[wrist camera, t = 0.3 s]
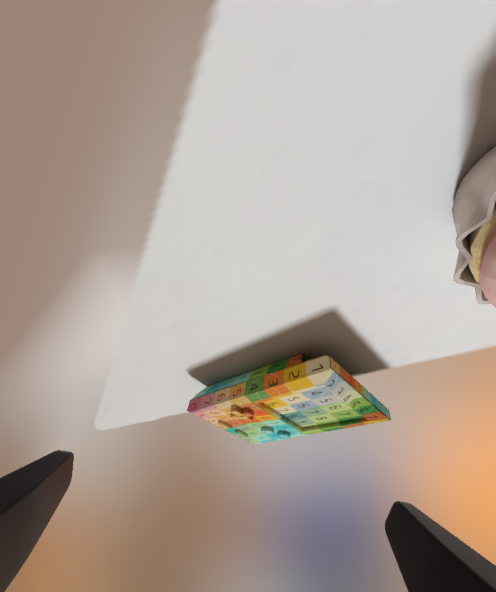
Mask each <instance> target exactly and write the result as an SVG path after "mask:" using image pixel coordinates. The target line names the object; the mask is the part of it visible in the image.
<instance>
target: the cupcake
mask: <svg viewBox="0 0 496 592" xmlns="http://www.w3.org/2000/svg"><path fill="white" fill-rule="evenodd" d="M452 213H453V219H454V223H455V227H456V232H457V238H456V246H457V248H458V249H459V254H458V259H457V264H456V269H455V274H454V279H453V281H455V282H457V283H459V284H464V285H468V286H473V287H475V291H476V299H477V302H478V303H479V304H493V305H494V306H495V307H496V146H495V147H493V148H492V149H491V150H490V151H488V152H487V153H486V154H485V155H484V156H483V157H482V158H481V159H480V160H479V161H478V162H477V163H476V164H475V165H474V166H473V167H472V168H471V169H470V171H469V172H468V173H467V174H466V176H465V177H464V178H463V180H462V182H461V184H460V186H459V188H458V191H457V193H456V196H455V199H454V203H453V208H452Z"/></svg>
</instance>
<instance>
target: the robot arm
mask: <svg viewBox="0 0 496 592" xmlns="http://www.w3.org/2000/svg"><path fill="white" fill-rule="evenodd" d="M73 460H74V455H73V453H72V452H67V451H61V450H57V451H54V452H52V453H50V454H48V455H46V456H44V457H42V458H40V459H38V460H36V461H34V462H32V463H30V464H28V465H26V466H24V467H22V468H20V469H18V470H16V471H14V472H12V473H9V474H7V475H6V476H3V477H2V478H0V592H5V590H6V589H7V587H8V586H9V585H10V583H11V582H12V580H13V579H14V577H15V576H16V574H17V573H18V571H19V570H20V569H21V567H22V566H23V564H24V563H25V561H26V560H27V558H28V557H29V555H30V553H31V552H32V550H33V548H34V547H35V545H36V543H37V542H38V540H39V538H40V536H41V535H42V533H43V531H44V529H45V528H46V526H47V524H48V522H49V521H50V518H51V517H52V515H53V514H54V512H55V510H56V508H57V507H58V505H59V503H60V501H61V500H62V498H63V496H64V494H65V493H66V491H67V489H68V487H69V484H70V482H71V478H72V470H73ZM385 530H386V534H387V537H388V540H389V542H390V545H391V548H392V550H393V553H394V556H395V558H396V561H397V563H398V566H399V568H400V571H401V574H402V576H403V579H404V582H405V584H406V587H407V589H408V592H496V566H495V565H494V564H492V563H491V562H490V561H488V560H487V559H485V558H484V557H483V556H481V555H480V554H479V553H477V552H476V551H475V550H473V549H471V548H470V547H469V546H468V545H466V544H465V543H464V542H462V541H461V540H459V539H458V538H457V537H455V536H454V535H453V534H451V533H450V532H448V531H447V530H446V529H444V528H443V527H442V526H440V525H439V524H438V523H436V522H435V521H433V520H432V519H431V518H429V517H428V516H427V515H425V514H424V513H422V512H421V511H420V510H418V509H417V508H416V507H414V506H413V505H411V504H410V503H406V502H400V501H397V502H395V503H394V504H393V506H392V508H391V510H390V513H389V514H388V517H387V519H386V521H385Z"/></svg>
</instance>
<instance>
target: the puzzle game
mask: <svg viewBox="0 0 496 592" xmlns="http://www.w3.org/2000/svg"><path fill="white" fill-rule="evenodd" d="M187 411H189V412H191V413H193V414H195V415H197V416H199V417H201V418H203V419H205V420H207V421H209V422H211V423H213V424H215V425H217V426H219V427H221V428H223V429H225V430H227V431H229V432H231V433H232V434H234V435H236V436H238V437H240V438H242V439H244V440H246V441H248V442H250V443H252V444H257V443H263V442H268V441H274V440H280V439H289V438H292V437H297V436H303V435H309V434H315V433H321V432H326V431H332V430H337V429H343V428H349V427H355V426H361V425H366V424H372V423H377V422H383V421H389V420H391V418H390V414H389V410H388V409H387V408H386V407H385V406H384V405H383V404H382V403H381V402H379V401H378V400H377V399H376V398H375V397H374V396H373V395H372V394H371V393H370V392H368V391H367V390H366V389H365V388H364V387H363V386H362V385H360V383H359V382H357V381H356V380H355V379H354V378H353V377H352V376H351V375H350V374H349V373H348V372H346V371H345V370H344V369H343V368H342V367H341V366H340V365H339V364H338V363H336V362H335V361H334V360H333V359H332V358H331V357H330V356H324V355H323V356H320V357H317V358H314V359H311V360H307V359H306V358H305V357H304V356H303V355H301V354H298V355H295V356H292V357H289V358H287V359H284V360H281V361H278V362H275V363H273V364H270V365H267V366H264V367H261V368H259V369H256V370H253V371H250V372H247V373H245V374H242V375H239V376H236V377H233V378H231V379H228V380H225V381H222V382H219V383H217V384H214V385H211V386H208V387H206V388H205V389H204V390H202V391H201V392H199V393H198V394H197V395H196V396H195V397H194V398H193V399H192V400H190V403H189V406H188V409H187Z"/></svg>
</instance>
